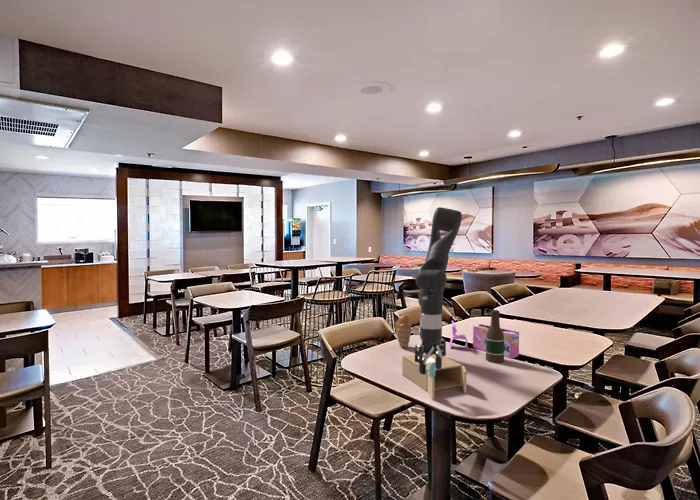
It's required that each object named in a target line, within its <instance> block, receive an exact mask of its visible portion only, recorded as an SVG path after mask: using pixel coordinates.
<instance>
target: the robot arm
mask: <svg viewBox="0 0 700 500" xmlns="http://www.w3.org/2000/svg"><path fill="white" fill-rule="evenodd" d="M462 221H463V214H462V212H461V211H459V210H456V209H453V208H448V207H447V208H446V207H441V206H440V207H436V208H435V210H434V212H433V216H432V222H431V232H430V239H429V245H428V248H427V249H428V250H427V254H426V258H425V261H424V263H423V264H422V265H421V266H420V268H419V269H418V270H417V272H416V275H415V284H416V285H417V287H418V288H419V292H418V296H417V297H418V298H417V299H418V301H417V302H418V305H419V306H420V317H419V318H420V319H419V320H420V321H419V338H420V339H421V344H415V345H414V347H415V349H414V355H415V362H418V363H419V372H420V374H423V375H425V374H426V364H425V363H426V361H427V359H429V357H430V356H431V355H433V354H434V355H435V357H437V358H435V363H436V369H441V367H442V358H443V356H445V357H447V345H446V342H447V341H446V339H444V338H443V306H444V304H443V303H444V291H445V288H446V285H447V280H448V278H447V274H446V270H447V267H448V262H449V253H450V251H451V249H452V246H453V245H454V242H455V241H456V240H455V239H456V237H457V235H458V233H459V231H460V228H461V224H462ZM441 231H442V232H446V234H445V235H444V236H442V237H441ZM424 353H425V354H426V355H424ZM418 356H419V359H418ZM423 357H424V360H422V359H423Z"/></svg>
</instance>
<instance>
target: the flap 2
mask: <svg viewBox="0 0 700 500" xmlns="http://www.w3.org/2000/svg"><path fill="white" fill-rule="evenodd" d="M461 389H462V391H463V393H464V394H467V369H466V367H465V365H462V386H461Z"/></svg>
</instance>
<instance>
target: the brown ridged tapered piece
mask: <svg viewBox="0 0 700 500" xmlns="http://www.w3.org/2000/svg"><path fill="white" fill-rule="evenodd" d="M398 317H399V318H398V319H397V321H396V322H395V332H396V337H397V342H398V345H399V347H400V348H401V347H402V349H408V347H409V343H410V340H411V334H412V324H411V323H410V321H411V320H410V318H409V316H408V314H406V315H402V314H401V313H399V315H398Z"/></svg>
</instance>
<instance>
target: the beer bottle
mask: <svg viewBox="0 0 700 500" xmlns="http://www.w3.org/2000/svg"><path fill="white" fill-rule="evenodd" d="M490 313H491V315H490V317H491V318H490V325H489V326H490V328H489V330H488V331H487V334H486V352H485V360H486V361H487V362H488V363H493V364H502V363H503V362H505V357H504V334H503V332H502V330H501V329H502V328H501V325H500V324H501V323H500V313H501V312H500V310H498V309H491V310H490ZM500 328H501V329H500Z"/></svg>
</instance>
